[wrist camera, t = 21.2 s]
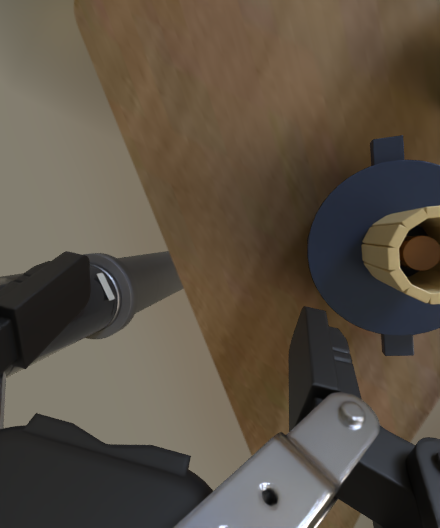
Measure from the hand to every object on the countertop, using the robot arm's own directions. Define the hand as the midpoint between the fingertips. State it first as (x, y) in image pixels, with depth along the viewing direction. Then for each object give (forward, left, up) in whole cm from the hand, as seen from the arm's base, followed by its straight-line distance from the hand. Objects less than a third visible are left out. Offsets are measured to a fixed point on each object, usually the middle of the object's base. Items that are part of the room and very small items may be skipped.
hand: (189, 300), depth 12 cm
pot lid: (+12, 0, -19) cm, 23 cm away
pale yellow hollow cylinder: (+13, 0, -18) cm, 22 cm away
